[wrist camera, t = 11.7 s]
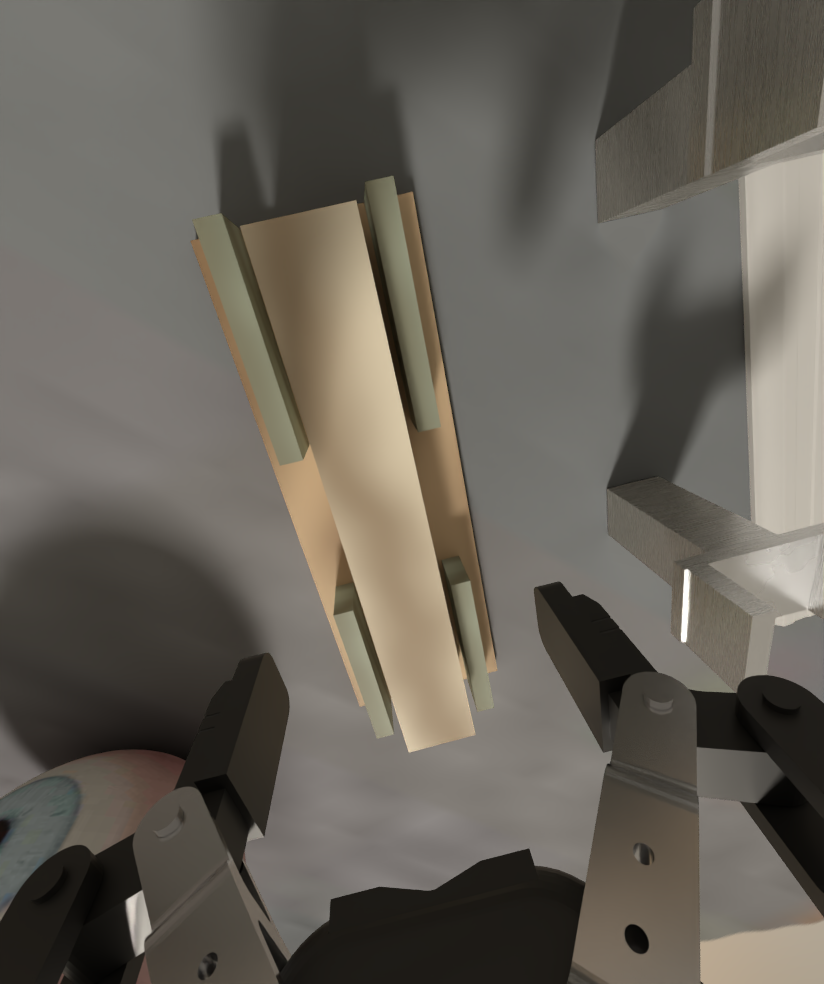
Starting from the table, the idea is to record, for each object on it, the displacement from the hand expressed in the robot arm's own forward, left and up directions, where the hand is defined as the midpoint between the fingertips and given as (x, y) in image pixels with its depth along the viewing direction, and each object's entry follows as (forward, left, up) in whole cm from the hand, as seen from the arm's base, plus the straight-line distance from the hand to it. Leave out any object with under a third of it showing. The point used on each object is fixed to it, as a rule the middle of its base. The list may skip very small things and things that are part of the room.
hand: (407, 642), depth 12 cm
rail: (0, 0, -10) cm, 10 cm away
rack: (0, 0, -11) cm, 11 cm away
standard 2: (-14, +4, -11) cm, 18 cm away
